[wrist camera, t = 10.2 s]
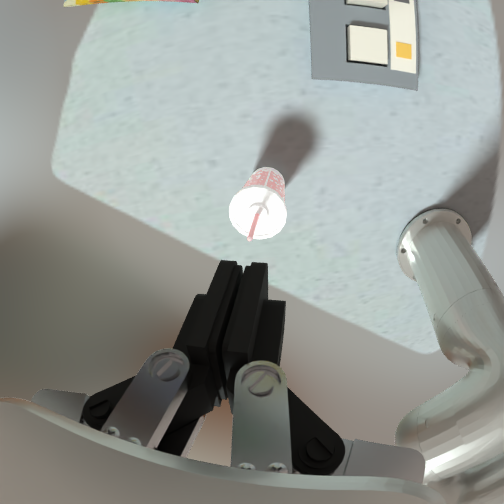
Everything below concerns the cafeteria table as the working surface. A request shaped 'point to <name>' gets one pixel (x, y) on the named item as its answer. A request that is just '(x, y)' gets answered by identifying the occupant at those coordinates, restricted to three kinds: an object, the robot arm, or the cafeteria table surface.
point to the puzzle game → (84, 0)
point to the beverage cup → (260, 205)
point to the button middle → (368, 3)
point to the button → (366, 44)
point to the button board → (388, 18)
